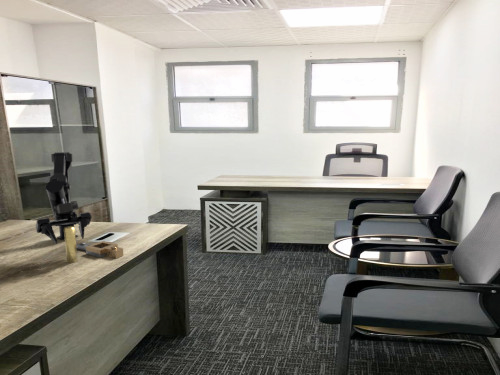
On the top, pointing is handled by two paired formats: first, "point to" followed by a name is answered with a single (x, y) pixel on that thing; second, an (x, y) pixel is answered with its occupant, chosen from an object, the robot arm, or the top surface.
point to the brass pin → (70, 244)
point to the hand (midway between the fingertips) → (70, 240)
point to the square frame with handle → (101, 249)
